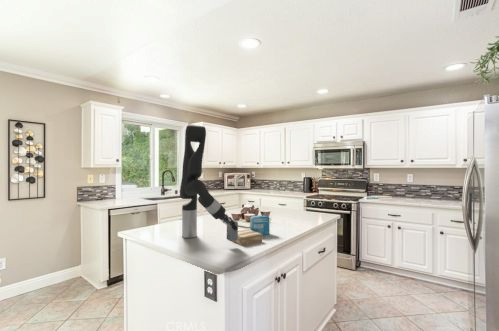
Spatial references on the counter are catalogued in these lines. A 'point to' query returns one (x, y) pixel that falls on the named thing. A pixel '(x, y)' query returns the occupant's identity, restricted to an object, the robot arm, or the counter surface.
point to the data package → (260, 224)
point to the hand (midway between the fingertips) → (234, 228)
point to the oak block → (248, 237)
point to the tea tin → (232, 232)
